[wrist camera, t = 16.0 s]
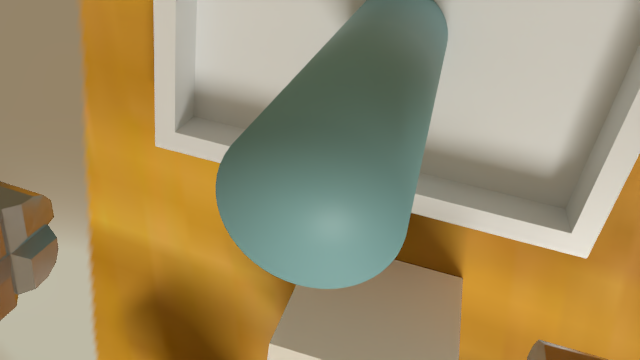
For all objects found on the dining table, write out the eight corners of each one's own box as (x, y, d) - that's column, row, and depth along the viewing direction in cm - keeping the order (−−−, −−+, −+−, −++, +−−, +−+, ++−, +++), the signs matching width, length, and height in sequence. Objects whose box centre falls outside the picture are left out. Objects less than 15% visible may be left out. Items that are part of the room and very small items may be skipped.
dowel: (459, -3, 22) (431, 146, 10) (434, 92, 24) (385, 310, 12) (360, -23, 22) (220, 95, 10) (344, 71, 24) (211, 260, 12)
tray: (732, -113, 19) (772, -111, 16) (576, 220, 26) (586, 258, 23) (189, -199, 22) (150, -209, 19) (184, 122, 29) (155, 146, 26)
